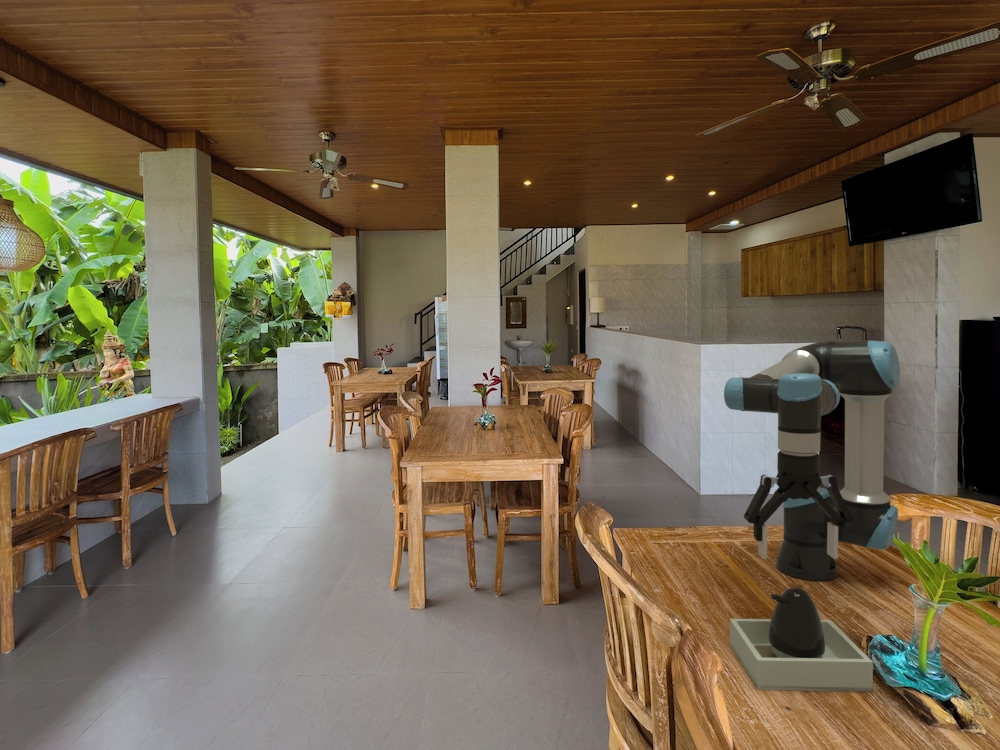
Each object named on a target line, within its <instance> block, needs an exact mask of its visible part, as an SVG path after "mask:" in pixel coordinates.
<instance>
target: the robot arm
mask: <svg viewBox="0 0 1000 750" xmlns="http://www.w3.org/2000/svg"><path fill="white" fill-rule="evenodd" d="M899 360H900V359H899V356H898V353H897V350H896V348H895V346H894V345H893V344H892V343H891V342H889V341H883V340H846V341H845V340H843V341H841V340H840V341H837V340H836V341H832V340H829V341H827V340H826V341H818V342H813V343H810V344H807V345H804V346H800V347H799V348H796V349H793V350H791V351H789V352H787V353H786V354H785V355H784V356H783V357H782V359H781V360H780V361H779V362H777V363H775V364H773V365H772V366H769V367H767V368H766V369H764V370H762V371H759V372H758V373H756V374H754V375H751V376H750V377H743V376H740V377H731V378H729V379H728V380H727V381H726V382H725V384H724V385H725V386H724V389H723V399H724V403H725V406H726V407H727V408H728V409H729V410H734V411H741V412H753V413H755V412H756V413H766V414H767V413H770V414H777V449H778V450H779V452H777V461H776V462H777V463H776V464H777V467H776V468H777V475H776V476H768V475H766V474H761V475H760V482H759V486H758V488H757V490H756V492H755V494H754V495H753V497H752V500H751V502H750V503H749V505H748V507H747V509H746V511H745V513H744V514H743V518H744V520H746V521H747V522H748V523H749V524H752V525H753V538H754V540H755V541H756V542H757V554H758V556H760V557H761V558H762V559H763V560H768V526H767V525H766V522H768V520H769V519H770V518H771V516H773V514H774V513H776V511H777V510H778V509H779V508H780V506H782V508H783V538H782V539H783V540H782V543H781V546H780V548H779V551H778V553H777V556H776V568H777V570H779V571H780V572H782V573H783V574H785V575H787V576H789V577H793V578H796V579H800V580H804V581H814V582H815V581H816V582H817V581H818V582H820V581H821V582H823V581H825V582H826V581H831V580H833V579H835V578H837V575H838V565H837V562H836V560H838V559H839V555H838V554H839V542H840V543H841V542H842V543H846V544H850V545H855V546H859V547H864V548H866V549H876V550H883V551H884V550H886V549H888V548H889V547H890V545H891V544H892V542H893V539H894V536H895V532H896V528H897V524H898V520H899V519H898V517H899V508H898V507H897V506H896V505H893V504H892V505H891V497H890V495H888V494H887V493H886V492H885V491H884V464H885V463H884V458H885V456H884V454H885V452H884V451H885V448H884V447H885V446H884V445H885V444H884V443H885V401H886V399H888V398H890V396H892V394H893V392H892V391H893V390H892V389H896V388H898V387H899V386H900V382H901V366H900V361H899ZM837 386H838V387H837ZM841 397H842V398H843V399H844V487H843V488H842V489H841V490H839V488H838V480H837V477H835V476H833V475H832V474H829V473H825V475H824V476H823V475H822V476H821V475H820V472H821V455H820V454H819V452H821V420H822V419H821V418H822V416H825V415H828V414H830V413H831V412H833V411H834V410H835V409H836V408H837V407H838V405H839V404H840V401H841ZM774 485H777V486H778V488H777V489H776V490H775V491H774V492H773V495H772V496H771V497H770V498H769V500H767V502H766V503H765V501H766V499H767V498H768V496H769V494H770V492H771V489H772V488H774ZM821 485H823V486H824V487H820V486H821ZM764 503H765V504H764ZM782 504H783V505H782ZM893 535H894V536H893Z"/></svg>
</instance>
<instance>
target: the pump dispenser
mask: <svg viewBox="0 0 1000 750" xmlns="http://www.w3.org/2000/svg"><path fill="white" fill-rule="evenodd" d="M770 597H771V600H774V601H775V602H776V604H775V607H774V609H773V612H772V614H771V618H770V619H771V622H770V627H769V636H768V638H769V642H770V644H771V647H772V650H773V652H774V654H775V655H776V656H777V658H822V655H823V654H824V653H825V639H824V632H823V627H822V623H821V620H822V619H821V617H820V612H819V611H818V608H817V606H816V604H815V602H814V600H813V598H812V596H811V595H810V593H808V592H807V591H806V590H804V589H803V588H799V587H795V586H794V587H789V588H787V589H785V590H784V591H783V592H782V593H781V595H780V594H776V593H772V594H771V595H770Z"/></svg>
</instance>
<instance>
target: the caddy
mask: <svg viewBox="0 0 1000 750" xmlns="http://www.w3.org/2000/svg"><path fill="white" fill-rule="evenodd" d="M770 622H771V618H729V646H730V647H731V649H732V651H733V653H734V654H735V656H736V658H737V660H738V661H739V662H740V664H741V665H742V667H743V668H744V670H745V672H746V673H747V675H748V677H749V679H750V680H751V682H752V683H753V685H754V687H755V689H756V690H757V691H804V692H805V691H806V692H808V691H809V692H811V691H812V692H814V691H815V692H816V691H817V692H856V693H857V692H862V693H863V692H865V693H866V692H868V693H869V692H872V693H873V685H874V683H873V681H874V680H873V678H874V677H873V676H874V661H873V660H872V659H870V657H868V655H866V653H864V651H862V650H861V649H860V648H859V646H858V645H856V644H855V642H854V641H852V640H851V638H849V636H847V634H845V633H844V632H843V631H842V630H841V629H840V628H839V627H838V626H837V625H836V624H835V623H834V622H833V621H832V620H831V619H821V623H822V627H823V632H824V639H825V653H824V654H823V655H822V658H777V656H776V655H775V654H774V652H773V650H772V647H771V644H770V642H769V638H768V636H769V627H770Z"/></svg>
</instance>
